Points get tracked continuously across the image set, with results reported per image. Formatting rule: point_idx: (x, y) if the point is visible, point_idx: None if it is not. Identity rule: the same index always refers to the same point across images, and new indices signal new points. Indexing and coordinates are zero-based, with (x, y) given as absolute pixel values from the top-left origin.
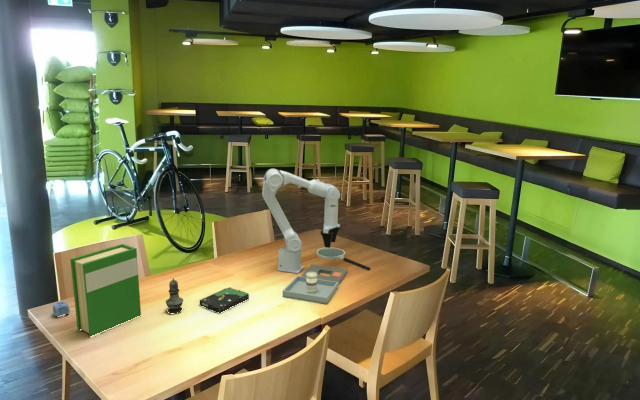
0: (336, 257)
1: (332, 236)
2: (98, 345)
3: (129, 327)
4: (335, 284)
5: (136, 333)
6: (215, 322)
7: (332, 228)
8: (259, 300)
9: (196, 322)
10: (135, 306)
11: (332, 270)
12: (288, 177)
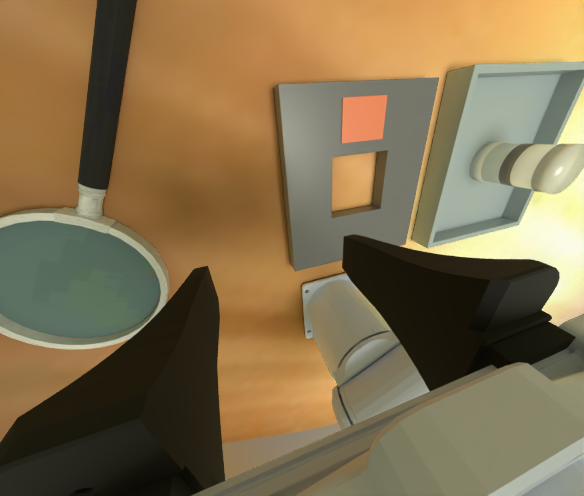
0: (123, 231)
1: (433, 267)
2: (578, 313)
3: (551, 322)
4: (496, 70)
5: (566, 307)
6: (567, 257)
7: (582, 376)
8: (508, 250)
9: (560, 277)
10: None
11: (325, 163)
12: None
